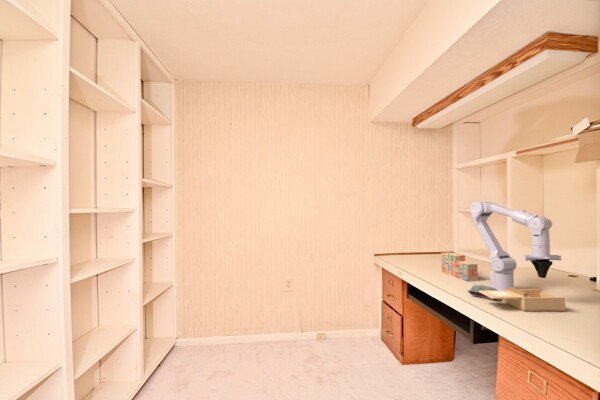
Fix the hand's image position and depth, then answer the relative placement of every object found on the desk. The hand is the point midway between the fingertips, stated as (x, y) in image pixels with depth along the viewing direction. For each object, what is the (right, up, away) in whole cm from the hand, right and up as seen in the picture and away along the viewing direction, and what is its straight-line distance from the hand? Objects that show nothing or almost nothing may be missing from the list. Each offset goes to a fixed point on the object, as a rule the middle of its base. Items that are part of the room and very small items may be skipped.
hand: (542, 277), depth 112 cm
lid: (-20, -6, -5) cm, 22 cm away
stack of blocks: (-11, -12, +41) cm, 44 cm away
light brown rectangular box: (-9, -10, -6) cm, 15 cm away
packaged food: (-20, -11, +7) cm, 23 cm away
